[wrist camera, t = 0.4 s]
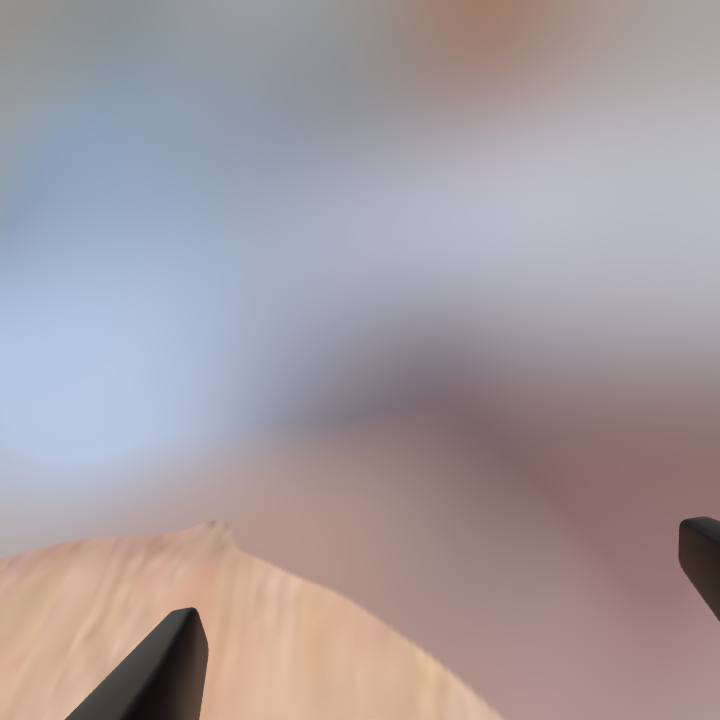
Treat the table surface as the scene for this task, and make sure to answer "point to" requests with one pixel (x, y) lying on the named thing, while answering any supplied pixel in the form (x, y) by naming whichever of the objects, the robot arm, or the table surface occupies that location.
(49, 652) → the table surface
